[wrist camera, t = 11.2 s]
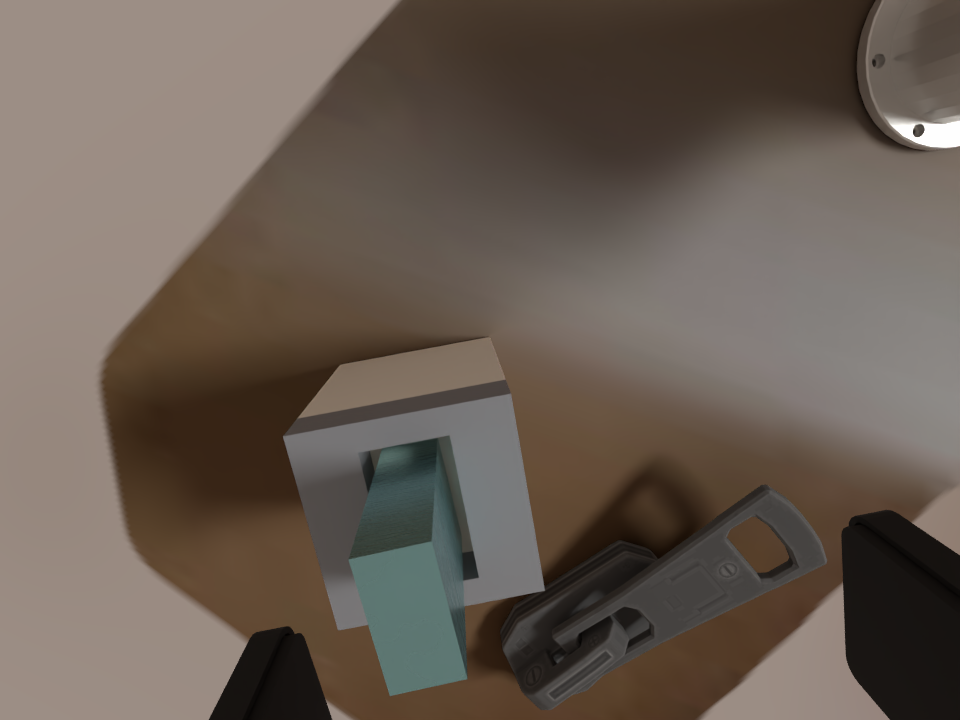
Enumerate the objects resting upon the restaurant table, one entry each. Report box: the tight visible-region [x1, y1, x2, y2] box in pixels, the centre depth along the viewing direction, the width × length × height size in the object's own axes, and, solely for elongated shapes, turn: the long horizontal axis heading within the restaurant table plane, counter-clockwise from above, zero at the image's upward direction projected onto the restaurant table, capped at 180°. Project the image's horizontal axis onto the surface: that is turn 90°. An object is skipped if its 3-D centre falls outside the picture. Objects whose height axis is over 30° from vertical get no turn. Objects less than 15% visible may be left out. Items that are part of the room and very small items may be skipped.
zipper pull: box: [500, 485, 827, 710], centre depth 42 cm, size 9×7×25 cm
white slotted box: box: [283, 337, 545, 630], centre depth 34 cm, size 11×11×14 cm
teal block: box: [348, 438, 467, 696], centre depth 25 cm, size 3×6×10 cm, turn 12°
